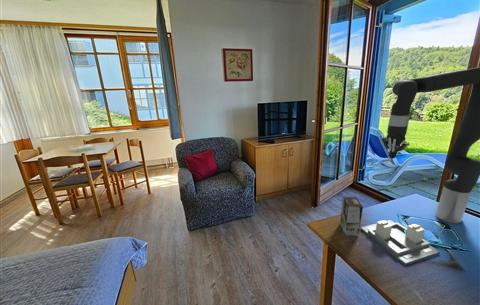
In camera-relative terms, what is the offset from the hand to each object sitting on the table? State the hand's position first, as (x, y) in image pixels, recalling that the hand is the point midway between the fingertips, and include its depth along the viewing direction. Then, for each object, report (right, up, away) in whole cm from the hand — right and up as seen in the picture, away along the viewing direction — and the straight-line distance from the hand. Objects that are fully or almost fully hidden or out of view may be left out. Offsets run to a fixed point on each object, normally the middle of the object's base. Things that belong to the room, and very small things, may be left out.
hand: (391, 158), depth 102 cm
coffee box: (-22, -36, -1) cm, 42 cm away
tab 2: (0, -36, -13) cm, 39 cm away
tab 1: (-11, -36, -9) cm, 39 cm away
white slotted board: (-6, -38, -10) cm, 39 cm away
